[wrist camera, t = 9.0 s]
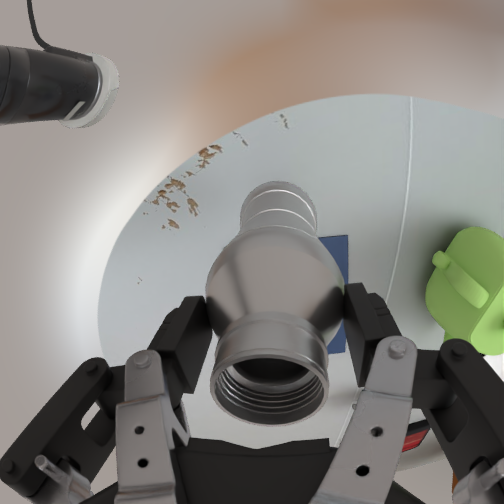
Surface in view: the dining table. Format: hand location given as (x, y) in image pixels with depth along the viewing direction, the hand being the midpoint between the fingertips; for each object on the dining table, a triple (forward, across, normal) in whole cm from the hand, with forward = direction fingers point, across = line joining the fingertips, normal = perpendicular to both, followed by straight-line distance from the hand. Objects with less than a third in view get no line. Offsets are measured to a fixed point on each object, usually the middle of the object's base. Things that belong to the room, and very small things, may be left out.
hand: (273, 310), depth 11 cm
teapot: (+24, -28, +17) cm, 41 cm away
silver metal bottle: (+16, 0, 0) cm, 16 cm away
